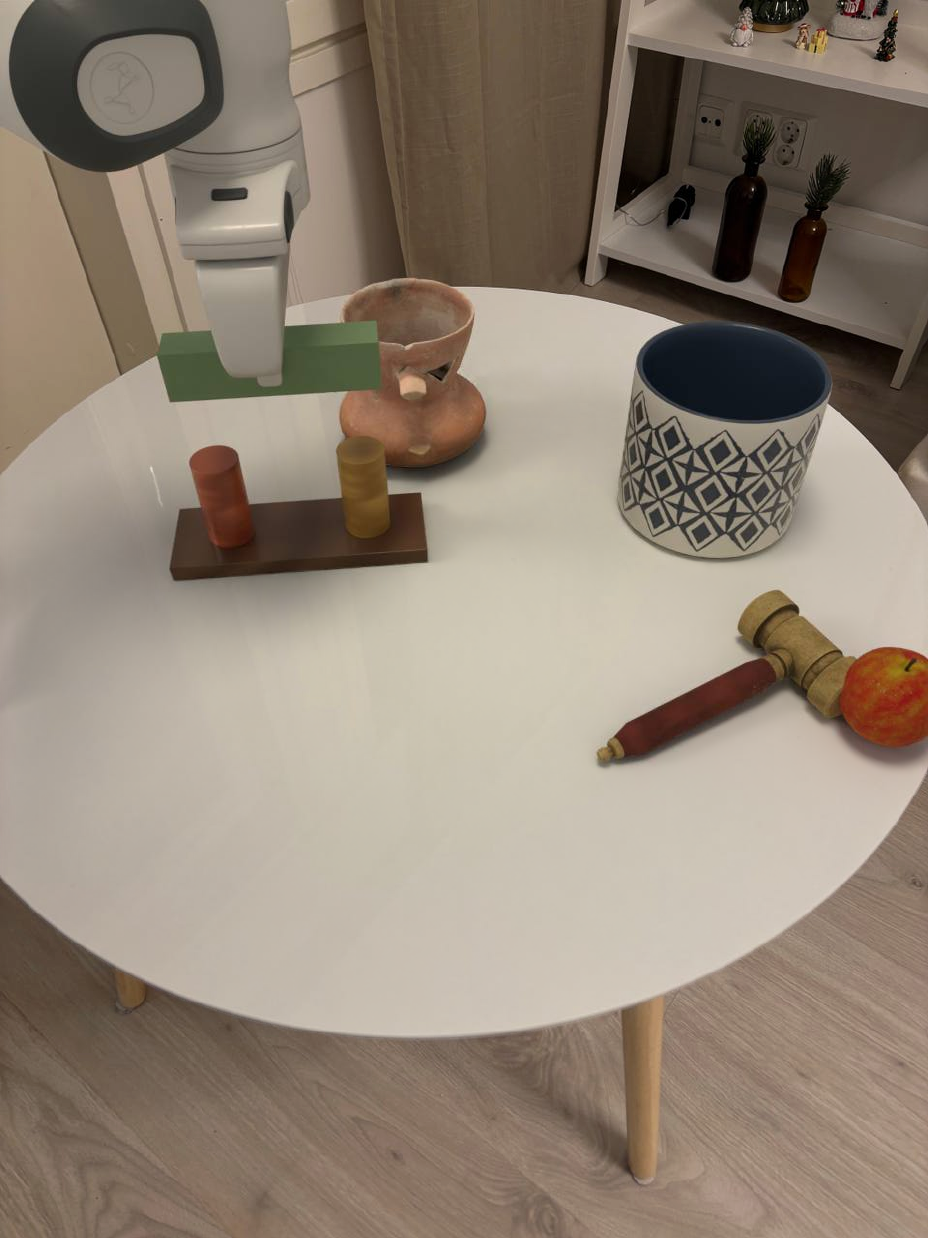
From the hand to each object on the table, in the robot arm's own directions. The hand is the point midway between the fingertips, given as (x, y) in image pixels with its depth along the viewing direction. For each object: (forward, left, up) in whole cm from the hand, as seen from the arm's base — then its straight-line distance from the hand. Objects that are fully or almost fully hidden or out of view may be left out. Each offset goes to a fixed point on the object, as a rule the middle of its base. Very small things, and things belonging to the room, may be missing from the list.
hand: (272, 365), depth 71 cm
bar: (0, 0, -2) cm, 2 cm away
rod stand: (0, 0, -18) cm, 18 cm away
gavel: (+31, -22, -18) cm, 42 cm away
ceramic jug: (+11, +15, -18) cm, 26 cm away
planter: (+37, +1, -18) cm, 41 cm away
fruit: (+42, -25, -18) cm, 53 cm away
